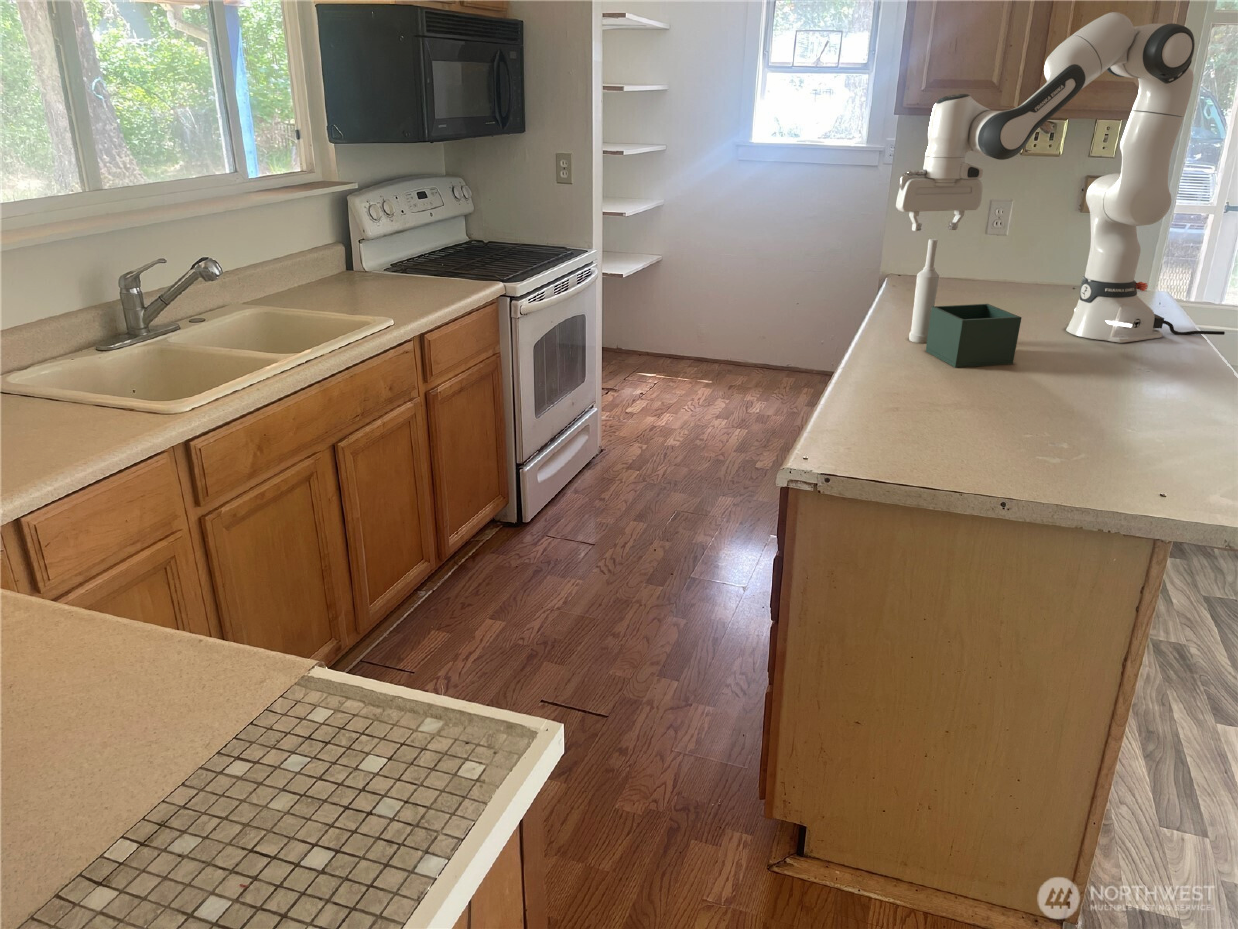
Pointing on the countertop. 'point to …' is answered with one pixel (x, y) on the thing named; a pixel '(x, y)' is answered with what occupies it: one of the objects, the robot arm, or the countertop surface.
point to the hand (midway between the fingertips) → (934, 230)
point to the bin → (973, 335)
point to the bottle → (924, 296)
